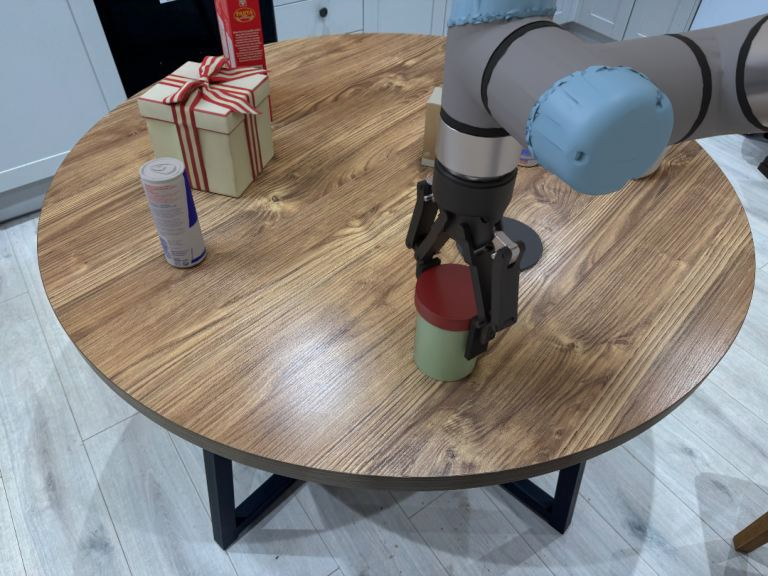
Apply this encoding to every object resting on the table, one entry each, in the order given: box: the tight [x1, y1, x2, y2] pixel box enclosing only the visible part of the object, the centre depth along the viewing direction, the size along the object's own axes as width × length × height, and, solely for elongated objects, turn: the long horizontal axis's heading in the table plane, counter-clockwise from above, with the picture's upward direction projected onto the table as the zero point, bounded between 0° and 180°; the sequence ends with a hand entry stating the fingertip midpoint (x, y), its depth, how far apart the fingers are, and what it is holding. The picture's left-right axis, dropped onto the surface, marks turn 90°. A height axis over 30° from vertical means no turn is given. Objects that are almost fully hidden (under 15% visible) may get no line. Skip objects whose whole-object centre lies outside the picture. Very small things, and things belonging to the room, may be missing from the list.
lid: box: [413, 262, 478, 332], centre depth 63 cm, size 9×9×2 cm
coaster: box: [455, 215, 544, 273], centre depth 86 cm, size 13×13×1 cm
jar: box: [412, 311, 478, 382], centre depth 67 cm, size 8×8×11 cm
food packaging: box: [213, 0, 274, 122], centre depth 106 cm, size 15×5×25 cm, turn 23°
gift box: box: [136, 55, 275, 199], centre depth 93 cm, size 17×18×17 cm
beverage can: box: [138, 158, 207, 269], centre depth 77 cm, size 6×6×15 cm
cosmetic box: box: [421, 86, 442, 168], centre depth 99 cm, size 6×4×12 cm
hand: (449, 326), depth 67 cm, fingers closed on lid, 9 cm apart
